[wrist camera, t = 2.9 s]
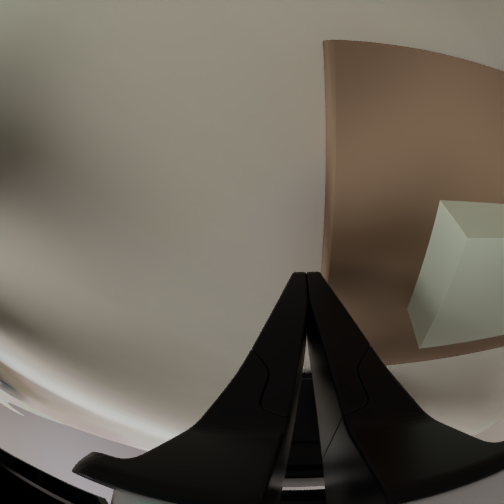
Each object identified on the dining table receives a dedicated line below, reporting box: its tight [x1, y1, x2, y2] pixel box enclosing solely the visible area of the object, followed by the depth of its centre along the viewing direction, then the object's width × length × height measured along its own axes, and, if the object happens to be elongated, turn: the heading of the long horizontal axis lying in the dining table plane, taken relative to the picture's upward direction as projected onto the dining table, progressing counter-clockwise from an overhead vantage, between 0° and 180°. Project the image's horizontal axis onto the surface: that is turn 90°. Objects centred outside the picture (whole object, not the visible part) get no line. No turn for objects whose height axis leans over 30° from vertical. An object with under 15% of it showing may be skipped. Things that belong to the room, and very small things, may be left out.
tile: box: [407, 200, 504, 349], centre depth 9 cm, size 5×5×2 cm
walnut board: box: [321, 40, 504, 365], centre depth 10 cm, size 14×14×2 cm
